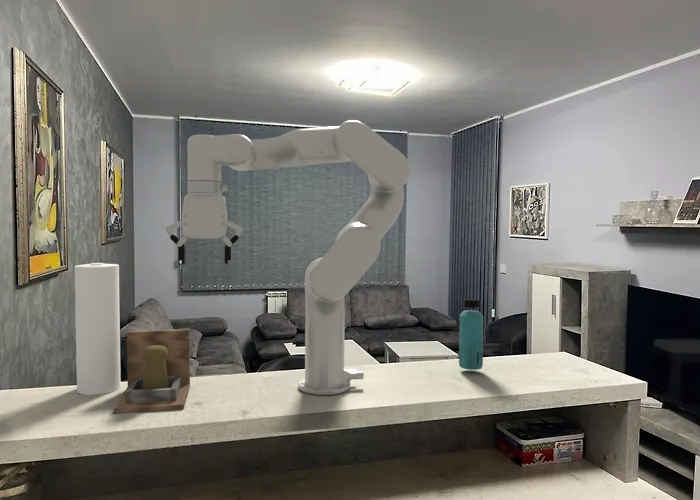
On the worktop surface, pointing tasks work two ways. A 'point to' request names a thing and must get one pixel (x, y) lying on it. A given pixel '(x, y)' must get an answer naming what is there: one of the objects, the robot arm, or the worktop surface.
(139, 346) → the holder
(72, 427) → the worktop surface
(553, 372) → the worktop surface
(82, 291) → the cylinder container
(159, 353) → the cork
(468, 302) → the beverage bottle
